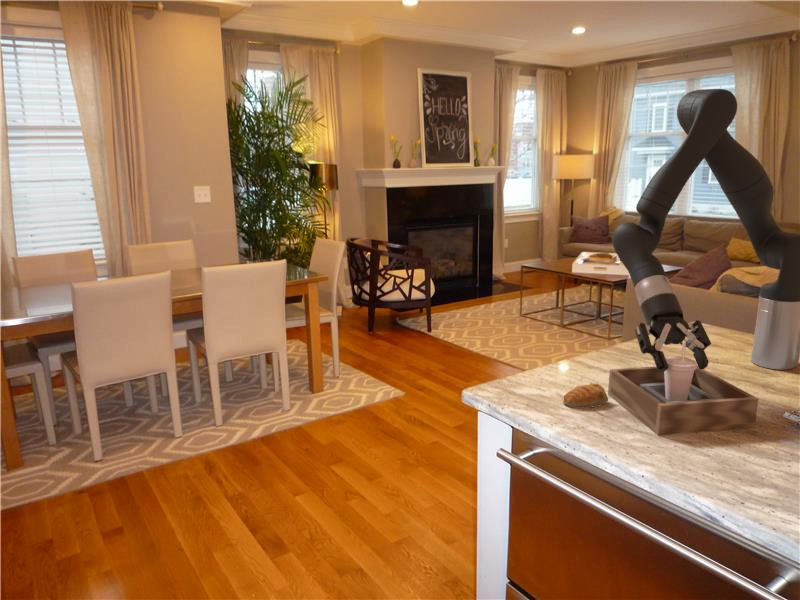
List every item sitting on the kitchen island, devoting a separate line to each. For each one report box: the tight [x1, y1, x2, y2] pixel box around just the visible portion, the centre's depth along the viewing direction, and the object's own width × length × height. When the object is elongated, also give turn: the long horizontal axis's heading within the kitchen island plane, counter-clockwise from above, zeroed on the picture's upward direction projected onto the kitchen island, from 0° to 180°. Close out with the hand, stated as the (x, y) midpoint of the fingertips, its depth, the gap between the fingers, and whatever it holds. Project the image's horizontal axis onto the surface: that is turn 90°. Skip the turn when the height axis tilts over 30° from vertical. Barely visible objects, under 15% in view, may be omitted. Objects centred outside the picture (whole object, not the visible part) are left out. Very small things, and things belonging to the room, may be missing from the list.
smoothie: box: [664, 341, 698, 401], centre depth 119 cm, size 6×6×14 cm
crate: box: [607, 365, 759, 436], centre depth 120 cm, size 20×20×6 cm
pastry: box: [562, 382, 609, 409], centre depth 125 cm, size 9×7×4 cm
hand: (684, 368), depth 117 cm, fingers open, 8 cm apart
